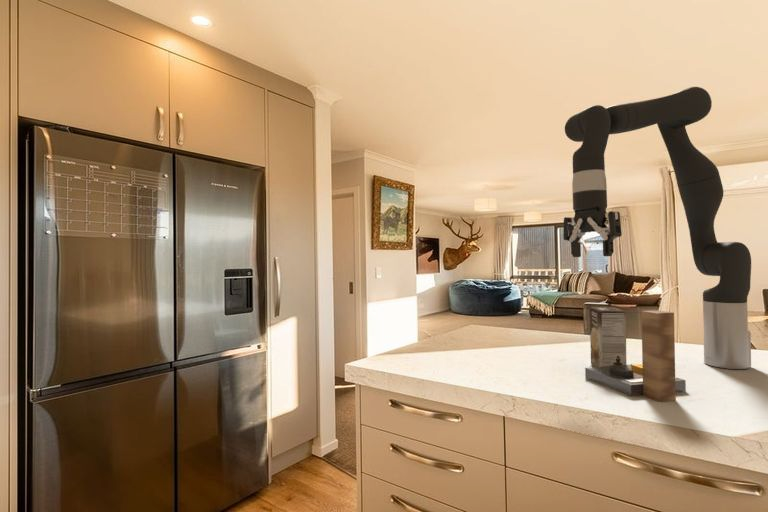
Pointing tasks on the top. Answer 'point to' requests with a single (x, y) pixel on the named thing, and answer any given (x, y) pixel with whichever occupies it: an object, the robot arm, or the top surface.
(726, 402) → the top surface
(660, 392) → the walnut post
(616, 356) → the coffee box
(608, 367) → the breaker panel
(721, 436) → the top surface
